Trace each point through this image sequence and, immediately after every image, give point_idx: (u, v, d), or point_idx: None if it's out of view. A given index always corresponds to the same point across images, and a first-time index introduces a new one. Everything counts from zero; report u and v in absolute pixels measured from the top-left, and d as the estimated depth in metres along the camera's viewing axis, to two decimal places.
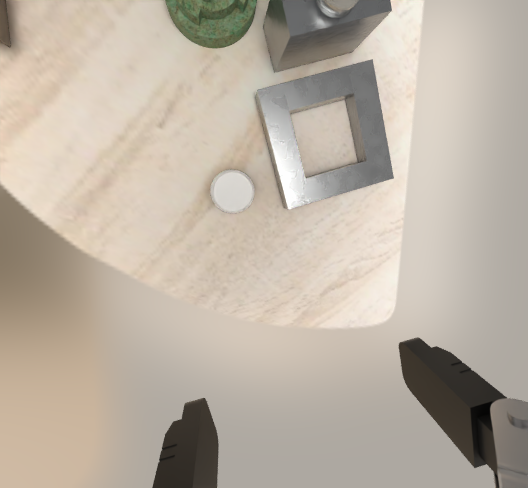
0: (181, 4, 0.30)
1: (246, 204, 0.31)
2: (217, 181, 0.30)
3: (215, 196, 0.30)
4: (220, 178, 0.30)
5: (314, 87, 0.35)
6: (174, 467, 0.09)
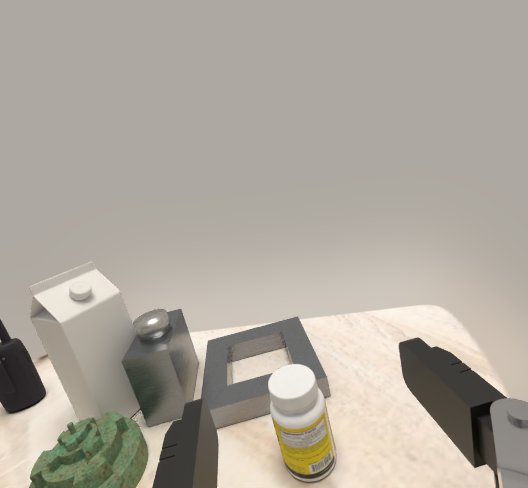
0: (84, 477, 0.26)
1: (306, 367, 0.26)
2: (276, 394, 0.24)
3: (295, 396, 0.23)
4: (273, 392, 0.24)
5: (214, 370, 0.38)
6: (174, 467, 0.09)
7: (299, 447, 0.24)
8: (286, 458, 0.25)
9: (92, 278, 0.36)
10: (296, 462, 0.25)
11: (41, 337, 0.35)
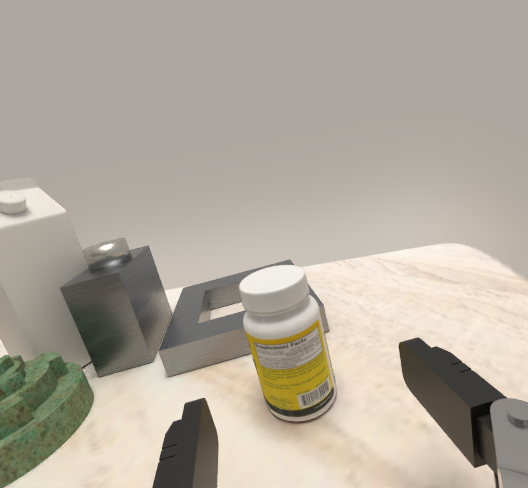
0: None
1: (293, 266, 0.19)
2: (249, 291, 0.16)
3: (275, 289, 0.16)
4: (245, 290, 0.17)
5: (185, 311, 0.31)
6: (174, 467, 0.09)
7: (282, 368, 0.17)
8: (266, 390, 0.18)
9: (32, 195, 0.29)
10: (279, 393, 0.17)
11: None
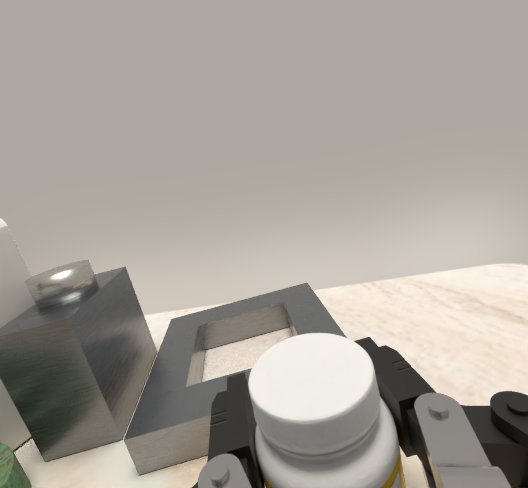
0: None
1: (344, 339, 0.11)
2: (270, 408, 0.08)
3: (323, 413, 0.08)
4: (262, 400, 0.09)
5: (170, 361, 0.23)
6: (228, 428, 0.10)
7: None
8: None
9: None
10: None
11: None
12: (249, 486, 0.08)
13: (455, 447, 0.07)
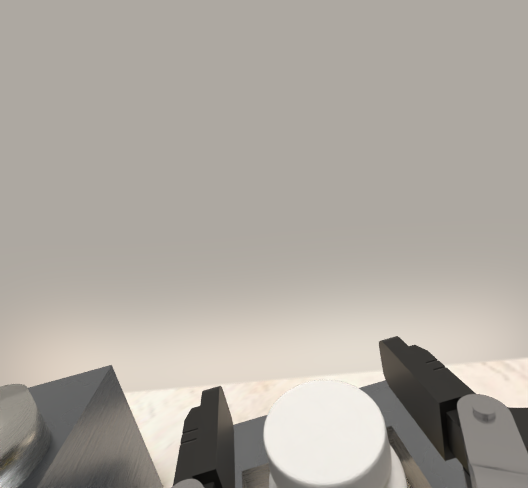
0: None
1: (354, 389, 0.11)
2: (286, 468, 0.09)
3: (338, 476, 0.08)
4: (278, 458, 0.09)
5: None
6: (197, 448, 0.09)
7: None
8: None
9: None
10: None
11: None
12: None
13: (509, 452, 0.07)
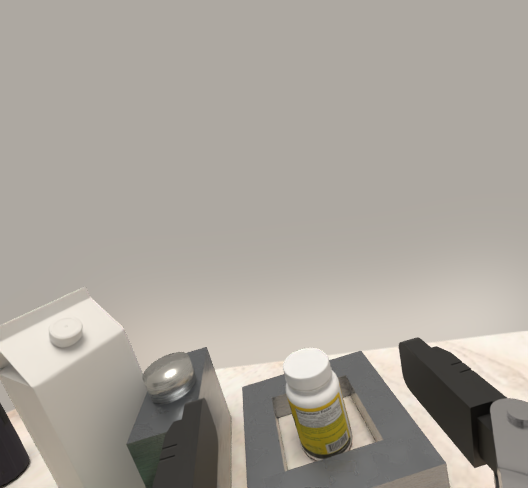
0: None
1: (319, 350, 0.27)
2: (292, 375, 0.24)
3: (309, 375, 0.24)
4: (289, 373, 0.25)
5: (259, 439, 0.26)
6: (174, 467, 0.09)
7: (315, 426, 0.24)
8: (303, 439, 0.26)
9: (85, 312, 0.26)
10: (313, 442, 0.25)
11: (13, 400, 0.24)
12: None
13: None
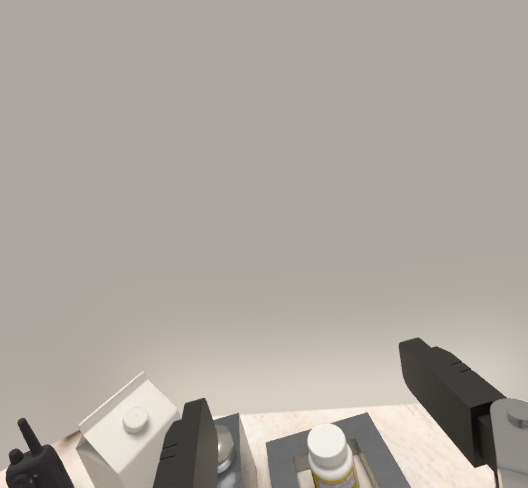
0: None
1: (337, 427, 0.32)
2: (316, 452, 0.30)
3: (330, 455, 0.30)
4: (313, 450, 0.31)
5: None
6: (174, 467, 0.09)
7: None
8: None
9: (146, 395, 0.31)
10: None
11: (88, 470, 0.30)
12: None
13: None
